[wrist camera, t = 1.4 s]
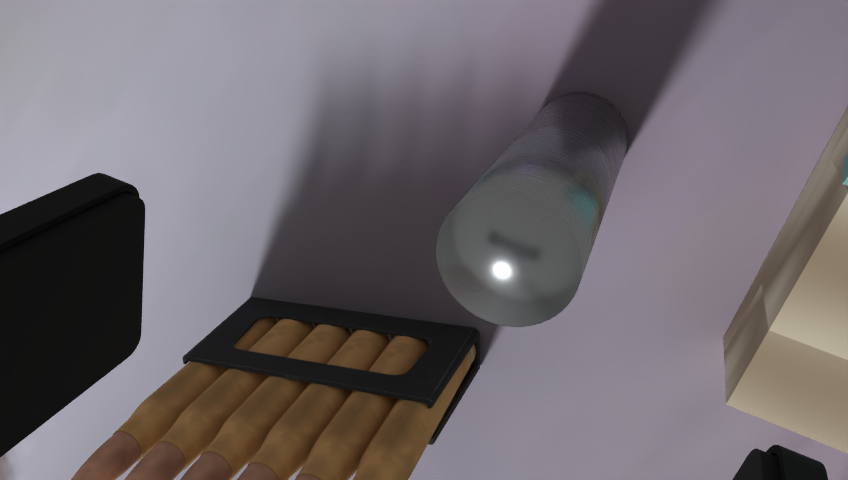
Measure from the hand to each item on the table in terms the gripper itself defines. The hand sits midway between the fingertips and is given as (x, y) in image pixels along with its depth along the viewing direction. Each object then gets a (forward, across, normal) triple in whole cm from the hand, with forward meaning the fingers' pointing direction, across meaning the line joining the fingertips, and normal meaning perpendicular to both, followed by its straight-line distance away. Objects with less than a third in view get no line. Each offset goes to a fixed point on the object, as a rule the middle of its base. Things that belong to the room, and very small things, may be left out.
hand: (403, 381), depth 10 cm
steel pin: (+16, 0, +1) cm, 16 cm away
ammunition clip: (+16, +6, +12) cm, 20 cm away
